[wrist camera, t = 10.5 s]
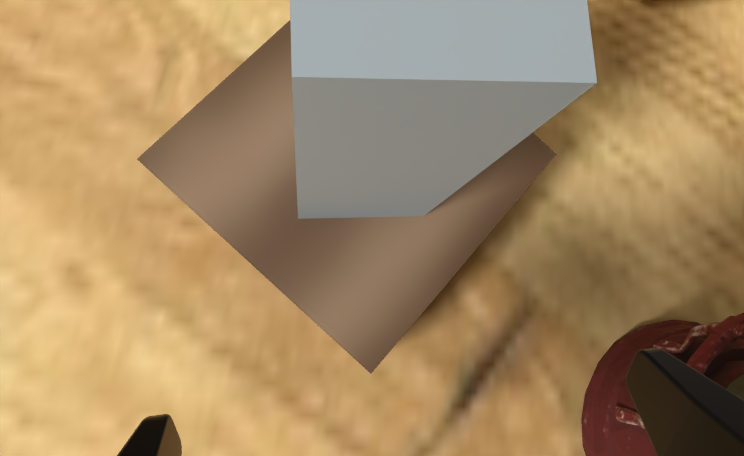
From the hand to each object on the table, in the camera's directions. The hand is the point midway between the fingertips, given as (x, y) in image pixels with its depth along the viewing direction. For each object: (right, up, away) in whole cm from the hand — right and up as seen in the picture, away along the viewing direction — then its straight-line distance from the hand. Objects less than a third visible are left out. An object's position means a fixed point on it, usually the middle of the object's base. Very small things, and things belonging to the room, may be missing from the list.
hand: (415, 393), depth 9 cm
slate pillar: (-1, +6, +10) cm, 12 cm away
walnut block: (-2, +5, +14) cm, 15 cm away
